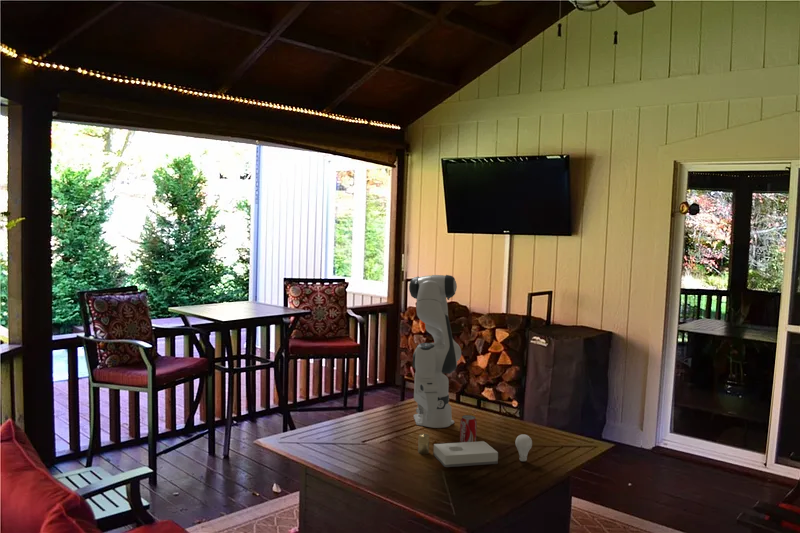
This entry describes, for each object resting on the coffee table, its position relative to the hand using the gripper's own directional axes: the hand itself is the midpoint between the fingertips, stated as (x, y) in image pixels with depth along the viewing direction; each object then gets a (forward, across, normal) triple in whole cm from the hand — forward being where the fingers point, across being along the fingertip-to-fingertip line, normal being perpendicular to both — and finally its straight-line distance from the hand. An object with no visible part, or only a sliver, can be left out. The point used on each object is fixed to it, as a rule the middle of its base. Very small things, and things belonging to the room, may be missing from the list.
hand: (424, 417), depth 258 cm
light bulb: (+16, +17, +36) cm, 43 cm away
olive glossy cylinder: (+15, -1, 0) cm, 15 cm away
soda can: (+15, -7, +22) cm, 27 cm away
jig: (+15, +10, +14) cm, 23 cm away
